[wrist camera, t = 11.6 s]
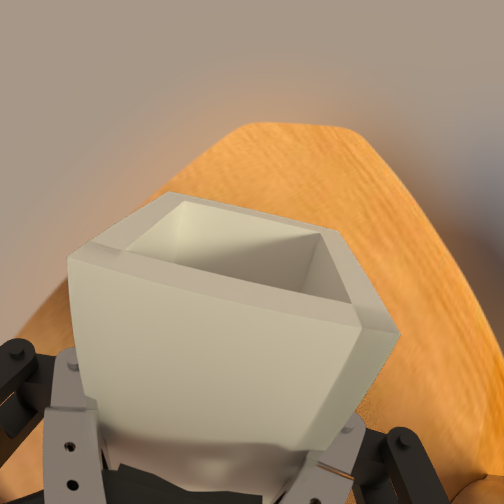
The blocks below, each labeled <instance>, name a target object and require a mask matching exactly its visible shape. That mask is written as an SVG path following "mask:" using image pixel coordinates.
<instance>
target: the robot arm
mask: <svg viewBox="0 0 504 504" xmlns="http://www.w3.org/2000/svg"><path fill="white" fill-rule="evenodd" d="M13 392H14V393H13ZM12 393H13V394H12ZM11 394H12V395H11ZM10 395H11V396H10ZM9 396H10V397H9ZM8 397H9V398H8ZM7 398H8V399H7ZM6 399H7V400H6ZM5 400H6V401H5ZM4 401H5V402H4ZM3 402H4V403H3ZM2 403H3V404H2ZM1 404H2V405H1ZM0 405H1V406H0V468H1V467H2V466H3V464H4V463H5V462H6V461H7V460H8V458H9V457H10V456H11V455H12V454H13V453H14V451H15V450H16V449H17V448H18V447H19V445H20V444H21V443H22V442H23V441H24V440H25V438H26V437H27V436H28V435H29V434H30V433H31V432H32V430H33V429H34V428H35V427H36V426H37V425H38V424H39V422H40V421H41V420H42V419H43V418H44V427H43V484H44V489H43V490H41V491H38V492H36V493H33V494H30V495H27V496H25V497H22V498H19V499H16V500H13V501H10V502H7V503H4V504H262V501H263V495H254V494H246V493H239V492H232V491H187V490H185V489H183V488H180V487H178V486H176V485H174V484H172V483H170V482H168V481H166V480H164V479H162V478H161V477H159V476H157V475H155V474H152V473H149V472H146V471H143V470H139V469H136V468H133V467H130V466H128V465H125V464H122V463H120V465H119V467H118V470H112V468H111V463H110V459H109V453H108V446H107V442H106V439H104V438H103V435H102V431H101V426H100V419H99V409H98V404H97V400H96V399H93V398H91V397H88V396H86V395H85V394H84V390H83V385H82V380H81V375H80V370H79V365H78V359H77V354H76V347H72V348H67V349H65V350H63V351H61V352H60V353H59V354H58V355H57V356H49V355H43V354H36V352H35V349H34V346H33V345H32V343H31V342H29V341H28V340H25V339H20V338H16V339H11V340H9V341H7V342H5V343H4V344H3V345H1V346H0ZM390 480H391V481H392V483H391V481H390ZM392 484H393V486H394V488H393V486H392ZM351 487H352V490H353V493H354V496H355V499H356V503H357V504H450V502H449V499H448V497H447V495H446V493H445V491H444V489H443V486H442V484H441V482H440V480H439V478H438V476H437V474H436V472H435V469H434V467H433V465H432V463H431V461H430V459H429V457H428V455H427V453H426V451H425V449H424V447H423V445H422V443H421V441H420V439H419V437H418V436H417V435H416V434H415V433H414V432H413V431H412V430H410V429H408V428H405V427H395V428H393V429H391V430H390V431H389V432H388V434H384V433H381V432H377V431H374V430H371V429H368V428H366V426H365V423H364V421H363V419H362V418H361V417H360V416H359V415H358V414H357V413H355V412H354V413H353V414H352V415H351V417H350V418H349V420H348V421H347V422H346V424H345V425H344V427H343V428H342V429H341V431H340V432H339V433H338V435H337V436H336V437H335V439H334V440H333V441H332V443H331V444H330V445H329V447H328V448H327V449H326V450H325V451H324V450H310V451H309V452H308V453H307V455H306V456H305V457H304V459H303V461H302V463H301V464H300V466H299V468H298V469H297V471H296V472H295V474H294V475H293V476H292V477H291V479H290V480H289V481H286V482H285V483H284V484H283V485H282V486H281V488H280V490H279V491H278V493H277V494H276V496H275V497H274V498H273V500H272V501H271V502H270V504H345V502H346V500H347V497H348V495H349V492H350V490H351ZM394 489H395V491H394ZM395 492H396V494H397V496H396V494H395ZM397 497H398V499H397ZM451 504H504V476H497V475H487V477H486V478H484V479H482V480H477V481H474V482H472V483H471V484H469V485H468V486H466V487H465V488H464V489H463V490H462V491H461V492H460V493H459V494H458V495H457V496H456V497H455V499H454V500H453V501H452V503H451Z"/></svg>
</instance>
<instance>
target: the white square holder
mask: <svg viewBox="0 0 504 504" xmlns="http://www.w3.org/2000/svg"><path fill="white" fill-rule="evenodd" d="M67 270H68V287H69V299H70V309H71V318H72V326H73V334H74V341H75V347H76V354H77V359H78V365H79V370H80V375H81V380H82V385H83V390H84V394H85V395H86V396H88V397H91V398H93V399H96V400H97V404H98V409H99V419H100V426H101V431H102V435H103V438H104V439H106V442H107V446H108V453H109V459H110V463H111V468H112V470H118V467H119V465H120V463H122V464H125V465H128V466H130V467H133V468H136V469H139V470H143V471H146V472H149V473H152V474H155V475H157V476H159V477H161V478H162V479H164V480H166V481H168V482H170V483H172V484H174V485H176V486H178V487H180V488H183V489H185V490H187V491H232V492H239V493H246V494H254V495H263V501H262V504H270V502H271V501H272V500H273V498H274V497H275V496H276V494H277V493H278V491H279V490H280V488H281V486H282V485H283V484H284V483H285V482H286V481H289V480H290V479H291V477H292V476H293V475H294V474H295V472H296V471H297V469H298V468H299V466H300V464H301V463H302V461H303V459H304V457H305V456H306V455H307V453H308V452H309V451H310V450H324V451H325V450H326V449H327V448H328V447H329V445H330V444H331V443H332V441H333V440H334V439H335V437H336V436H337V435H338V433H339V432H340V431H341V429H342V428H343V427H344V425H345V424H346V422H347V421H348V420H349V418H350V417H351V415H352V414H353V413H354V411H355V410H356V408H357V407H358V405H359V404H360V402H361V401H362V399H363V398H364V396H365V395H366V393H367V392H368V390H369V388H370V387H371V385H372V384H373V382H374V381H375V379H376V377H377V376H378V374H379V372H380V371H381V369H382V367H383V366H384V364H385V362H386V361H387V359H388V357H389V355H390V354H391V352H392V350H393V348H394V346H395V345H396V343H397V341H398V339H399V337H400V335H401V334H400V332H399V330H398V328H397V326H396V325H395V323H394V321H393V319H392V318H391V316H390V314H389V312H388V311H387V309H386V307H385V305H384V304H383V302H382V300H381V299H380V297H379V295H378V293H377V292H376V290H375V288H374V287H373V285H372V283H371V282H370V280H369V278H368V277H367V275H366V274H365V272H364V270H363V269H362V267H361V265H360V264H359V262H358V261H357V259H356V257H355V256H354V254H353V253H352V251H351V250H350V248H349V246H348V245H347V243H346V242H345V240H344V239H343V237H342V236H341V234H340V233H339V231H336V230H332V229H329V228H325V227H321V226H317V225H313V224H309V223H305V222H301V221H297V220H293V219H289V218H285V217H281V216H277V215H273V214H269V213H265V212H260V211H256V210H252V209H248V208H243V207H239V206H235V205H230V204H226V203H221V202H217V201H212V200H208V199H203V198H199V197H194V196H189V195H184V194H180V193H175V192H170V191H168V192H167V193H165V194H163V195H162V196H160V197H158V198H157V199H155V200H153V201H152V202H150V203H148V204H147V205H145V206H143V207H142V208H140V209H138V210H137V211H135V212H133V213H132V214H130V215H129V216H127V217H125V218H124V219H122V220H121V221H119V222H118V223H116V224H114V225H113V226H111V227H110V228H108V229H107V230H105V231H104V232H102V233H101V234H99V235H98V236H96V237H95V238H93V239H92V240H90V241H89V242H87V243H86V244H84V245H83V246H81V247H80V248H79V249H77V250H76V251H74V252H73V253H72V254H70V255H69V256H67Z"/></svg>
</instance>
